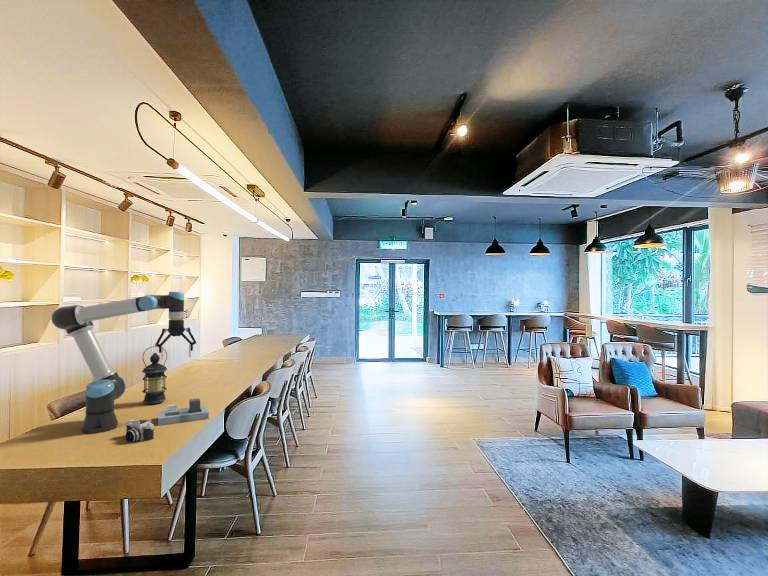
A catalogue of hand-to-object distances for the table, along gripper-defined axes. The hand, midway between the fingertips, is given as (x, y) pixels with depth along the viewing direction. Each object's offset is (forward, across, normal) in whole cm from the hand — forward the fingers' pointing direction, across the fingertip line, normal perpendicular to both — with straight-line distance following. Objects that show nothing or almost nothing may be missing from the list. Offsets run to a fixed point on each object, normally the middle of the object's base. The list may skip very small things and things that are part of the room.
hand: (176, 357), depth 224 cm
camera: (+33, -17, -30) cm, 48 cm away
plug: (+33, +9, -7) cm, 35 cm away
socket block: (+33, +4, -6) cm, 34 cm away
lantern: (+33, -11, +36) cm, 50 cm away
